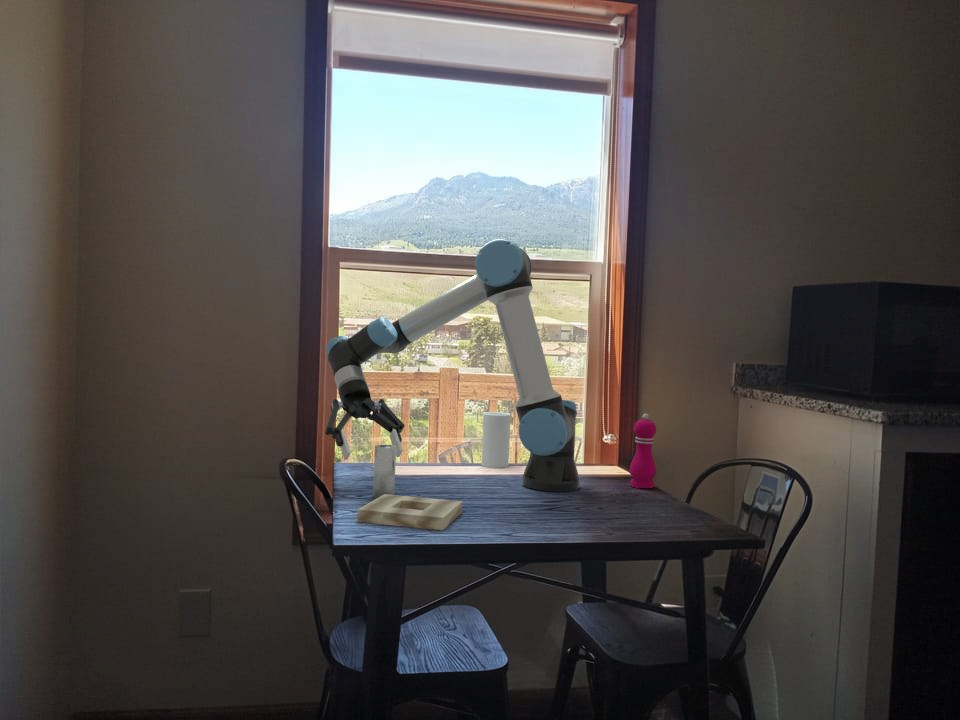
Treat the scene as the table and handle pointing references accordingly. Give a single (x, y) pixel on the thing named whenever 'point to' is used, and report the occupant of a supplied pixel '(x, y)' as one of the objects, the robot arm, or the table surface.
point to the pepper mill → (643, 454)
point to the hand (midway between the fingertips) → (374, 455)
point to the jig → (410, 512)
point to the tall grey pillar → (384, 470)
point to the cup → (496, 439)
